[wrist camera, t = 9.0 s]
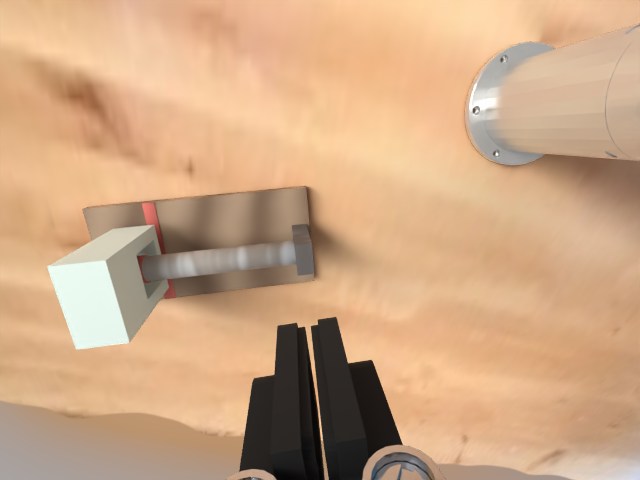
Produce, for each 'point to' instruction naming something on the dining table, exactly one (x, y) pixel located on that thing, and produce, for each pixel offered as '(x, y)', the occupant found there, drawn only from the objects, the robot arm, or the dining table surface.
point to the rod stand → (219, 239)
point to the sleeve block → (107, 287)
